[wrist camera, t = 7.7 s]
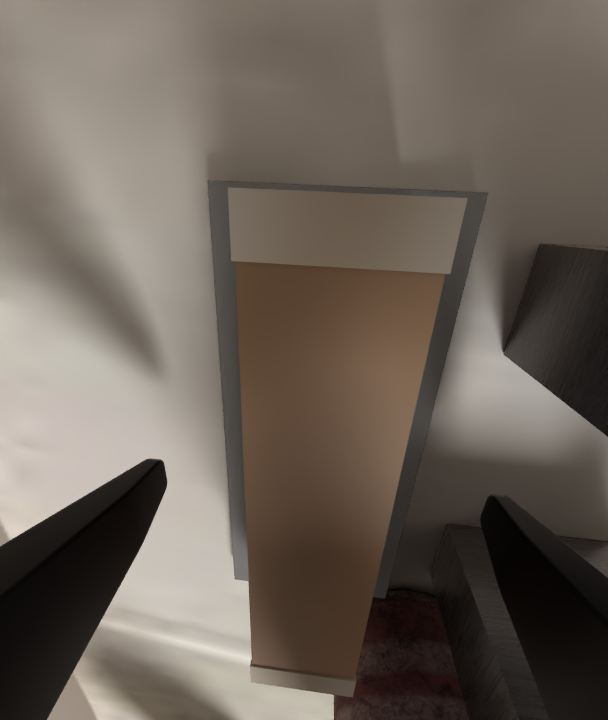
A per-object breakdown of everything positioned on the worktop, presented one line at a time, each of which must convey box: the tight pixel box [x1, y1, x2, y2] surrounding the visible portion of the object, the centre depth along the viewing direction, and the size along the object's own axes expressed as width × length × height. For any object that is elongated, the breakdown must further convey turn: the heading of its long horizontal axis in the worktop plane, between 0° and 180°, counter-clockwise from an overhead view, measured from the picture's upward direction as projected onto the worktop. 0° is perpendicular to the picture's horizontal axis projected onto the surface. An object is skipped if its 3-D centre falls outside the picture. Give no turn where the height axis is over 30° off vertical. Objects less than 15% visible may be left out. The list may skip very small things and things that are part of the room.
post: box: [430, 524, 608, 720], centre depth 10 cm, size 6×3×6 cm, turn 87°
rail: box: [228, 187, 468, 697], centre depth 9 cm, size 3×14×3 cm, turn 178°
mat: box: [208, 180, 488, 598], centre depth 10 cm, size 6×15×1 cm, turn 177°
